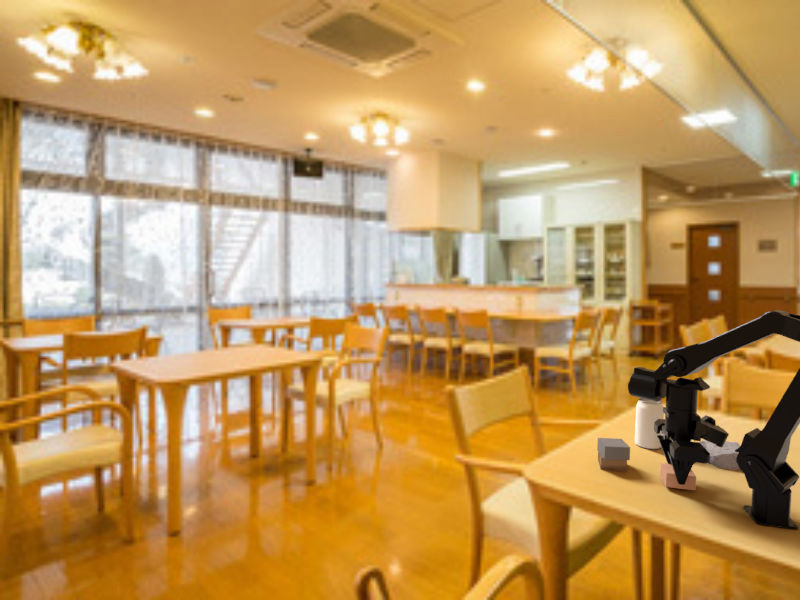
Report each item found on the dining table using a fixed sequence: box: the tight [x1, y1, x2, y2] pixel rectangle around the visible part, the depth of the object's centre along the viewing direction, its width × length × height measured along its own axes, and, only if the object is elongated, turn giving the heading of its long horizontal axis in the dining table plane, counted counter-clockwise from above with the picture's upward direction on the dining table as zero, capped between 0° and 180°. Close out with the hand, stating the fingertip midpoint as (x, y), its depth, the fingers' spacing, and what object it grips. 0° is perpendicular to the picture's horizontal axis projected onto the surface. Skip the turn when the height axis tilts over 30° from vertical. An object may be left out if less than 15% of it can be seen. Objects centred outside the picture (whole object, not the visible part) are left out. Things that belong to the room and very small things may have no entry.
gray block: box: [597, 437, 631, 461], centre depth 112 cm, size 6×6×3 cm
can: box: [634, 397, 665, 450], centre depth 126 cm, size 6×6×12 cm
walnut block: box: [597, 450, 628, 473], centre depth 113 cm, size 6×6×3 cm
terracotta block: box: [659, 462, 697, 491], centre depth 103 cm, size 6×6×3 cm
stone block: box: [698, 440, 741, 471], centre depth 117 cm, size 12×5×10 cm
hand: (677, 478), depth 103 cm, fingers closed on terracotta block, 5 cm apart
